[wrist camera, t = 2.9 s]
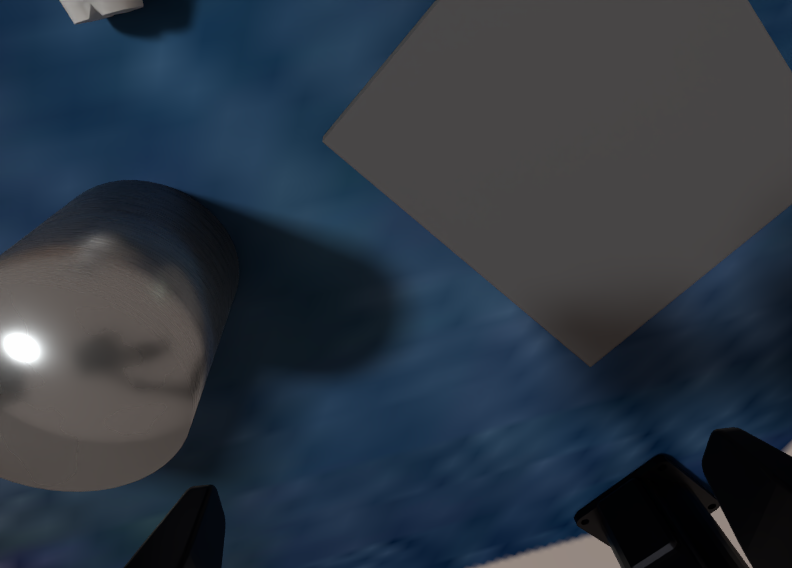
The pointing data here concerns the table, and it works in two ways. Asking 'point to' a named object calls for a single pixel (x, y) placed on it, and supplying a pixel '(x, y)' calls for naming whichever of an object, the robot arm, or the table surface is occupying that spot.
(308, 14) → the table surface
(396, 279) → the table surface
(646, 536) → the robot arm
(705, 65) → the mat
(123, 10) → the sitting furry creature
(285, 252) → the table surface
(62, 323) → the tin
